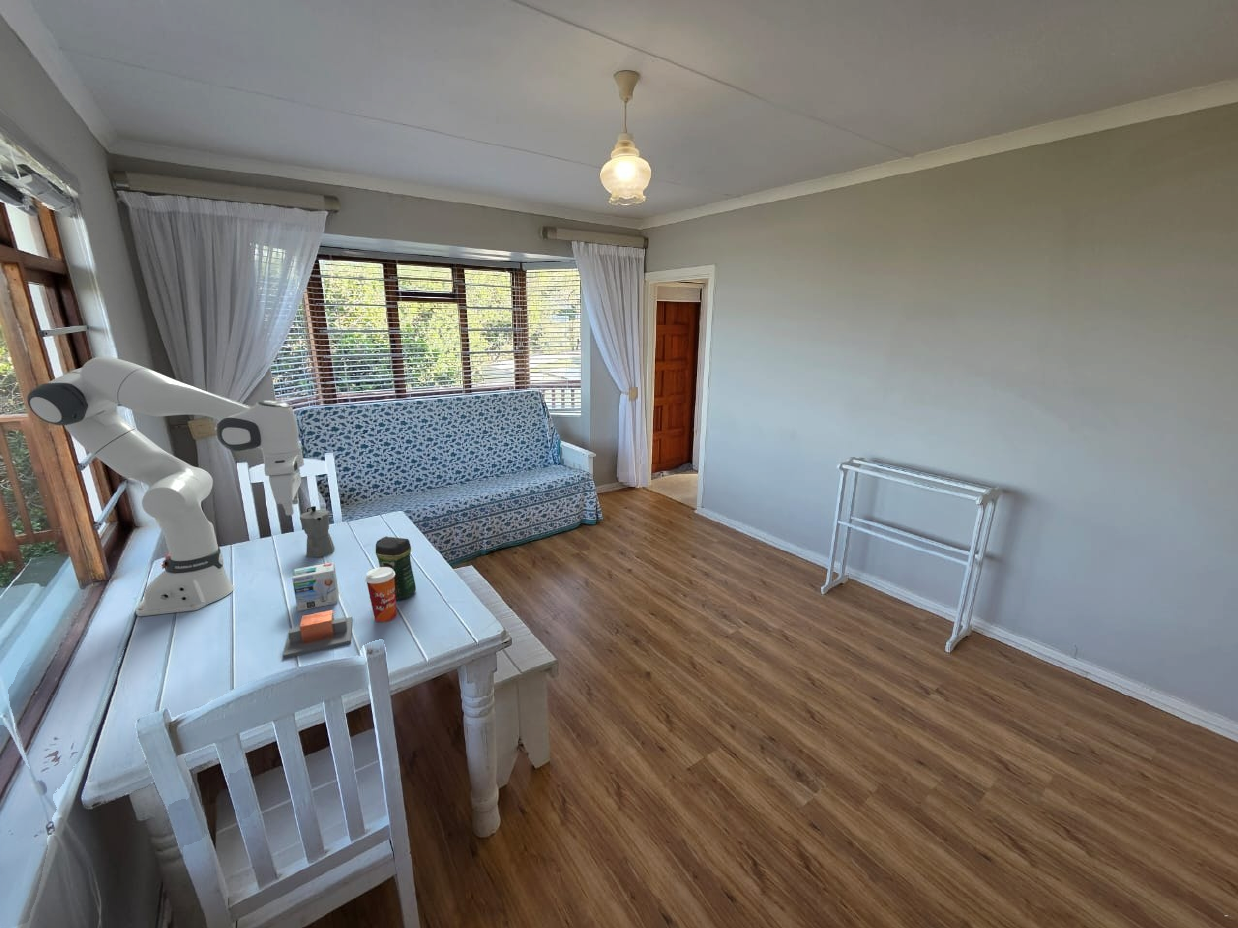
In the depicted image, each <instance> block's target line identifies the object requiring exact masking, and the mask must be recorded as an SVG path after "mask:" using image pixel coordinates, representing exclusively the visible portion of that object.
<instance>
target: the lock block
mask: <svg viewBox="0 0 1238 928" xmlns="http://www.w3.org/2000/svg"><path fill="white" fill-rule="evenodd" d="M334 615H335V614H334V610H333V609H331V610H330V609H329V610H325V611H321V612H320V611H319V612H316V613H311V614H304V615H302V617H301V619H300V620H301V621H300V625H299V627H300V631H301V636H302V642H303V644H304V643H309V642H314V641H318V640H323V639H327V638H332V637H334V631H333V625H332V621H333V620H334V619H335V617H334Z"/></svg>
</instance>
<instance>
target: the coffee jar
mask: <svg viewBox="0 0 1238 928" xmlns="http://www.w3.org/2000/svg"><path fill="white" fill-rule="evenodd" d="M375 543H376V544H375V555H376V557H377V559H378V565H379V567H389V568H392V569H393V571H394V572H395V576H394V582H395V599H396V600H400V601H401V600H405V599H406V598H410V597H411V596H412V595H413V594H414V593H415V592H416V590H417V587H416V582H415V576H414V572H413V568H412V561H411V552H412V546H411V541H410V539H409V538H402V537H392V536H387V535H386V536H384V537H382V538H380V539H379V540H378V539H377V541H376V542H375Z"/></svg>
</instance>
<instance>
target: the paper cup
mask: <svg viewBox="0 0 1238 928" xmlns="http://www.w3.org/2000/svg"><path fill="white" fill-rule="evenodd" d="M394 576H395V572H394V571H393V569H392V568H389V567H380V566H379V567H375V568H373V569H370V570H369V571H368V572H367V573H366V574H365V578H364V582H366V585H367V590H368V594H369V599H370V603H371V609H372V612H373V613H372V614H373V616H374V620H375V622H378V623H385V622H388V621H391V620H394V619H395V618H396V615H397V608H396V607H397V601H396V600H397V599H395V582H394Z"/></svg>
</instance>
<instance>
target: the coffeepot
mask: <svg viewBox="0 0 1238 928" xmlns="http://www.w3.org/2000/svg"><path fill="white" fill-rule="evenodd" d="M299 519H300V522H301V525H302V528H303V531H304V534H305V535H306V552H305V553H306V557H308V558H313V559H314V558H317V559H318V558H322V557H327V556H329V555H331V554H333V553H334V552H335V549H336V547H335V545H334V543H333V540H332V536H331V535H330V533H329V529H330V511H329V510H326V509H317V506H316V505H313V506H312V505H311V506H310V507H307V508H306V512H303V513H301V514H300V516H299Z"/></svg>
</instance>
